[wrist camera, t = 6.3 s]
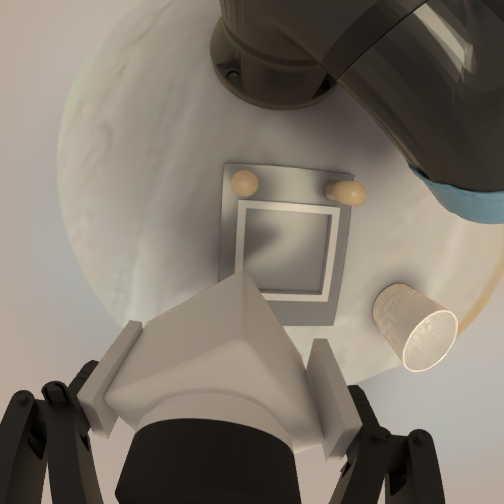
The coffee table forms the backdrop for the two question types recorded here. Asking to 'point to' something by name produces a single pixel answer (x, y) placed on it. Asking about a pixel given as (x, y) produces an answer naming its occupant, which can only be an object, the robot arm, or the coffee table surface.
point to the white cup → (414, 326)
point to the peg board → (288, 236)
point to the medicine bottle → (214, 404)
